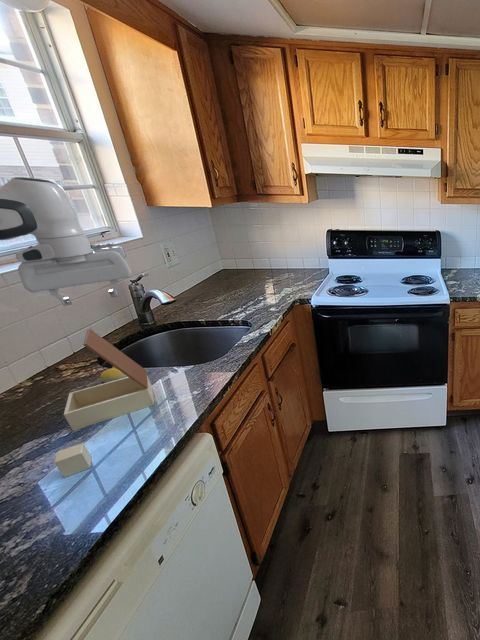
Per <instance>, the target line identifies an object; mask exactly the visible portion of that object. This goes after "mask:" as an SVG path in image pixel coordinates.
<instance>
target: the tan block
mask: <svg viewBox="0 0 480 640" xmlns="http://www.w3.org/2000/svg"><path fill="white" fill-rule="evenodd" d="M92 460H93V456H92V455H91V453H90V452H89V450H88V448H87V446H86V445H85V443H84V442H82V443H78V444H76V445H73V446H70V447H67V448H64V449H61V450H58V451H57V452H56V455H55V458H54V464H55V466H56V467H57V469H58V471H59V473H60V474H61V476H62V477H63V478H67V477H70V476H72V475H75V474H78V473H80V472H83V471H85V470H89V469H91V466H92Z"/></svg>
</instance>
